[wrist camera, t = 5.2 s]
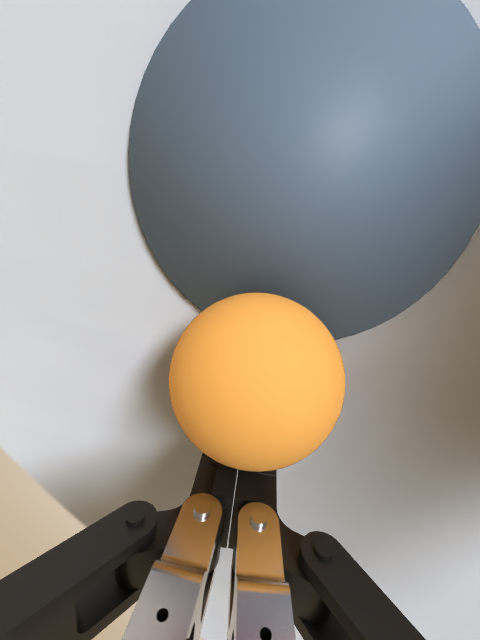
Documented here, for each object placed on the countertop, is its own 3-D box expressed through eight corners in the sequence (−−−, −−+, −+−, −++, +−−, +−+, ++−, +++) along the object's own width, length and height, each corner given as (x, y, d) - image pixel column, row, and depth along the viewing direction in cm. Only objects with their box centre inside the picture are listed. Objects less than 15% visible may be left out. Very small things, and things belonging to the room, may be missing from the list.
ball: (331, 382, 15) (361, 271, 11) (324, 523, 11) (370, 420, 7) (206, 359, 16) (196, 251, 13) (155, 479, 12) (113, 369, 8)
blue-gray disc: (571, -36, 10) (577, -42, 9) (426, 364, 14) (428, 366, 14) (135, -77, 10) (132, -82, 10) (127, 314, 15) (125, 316, 15)
